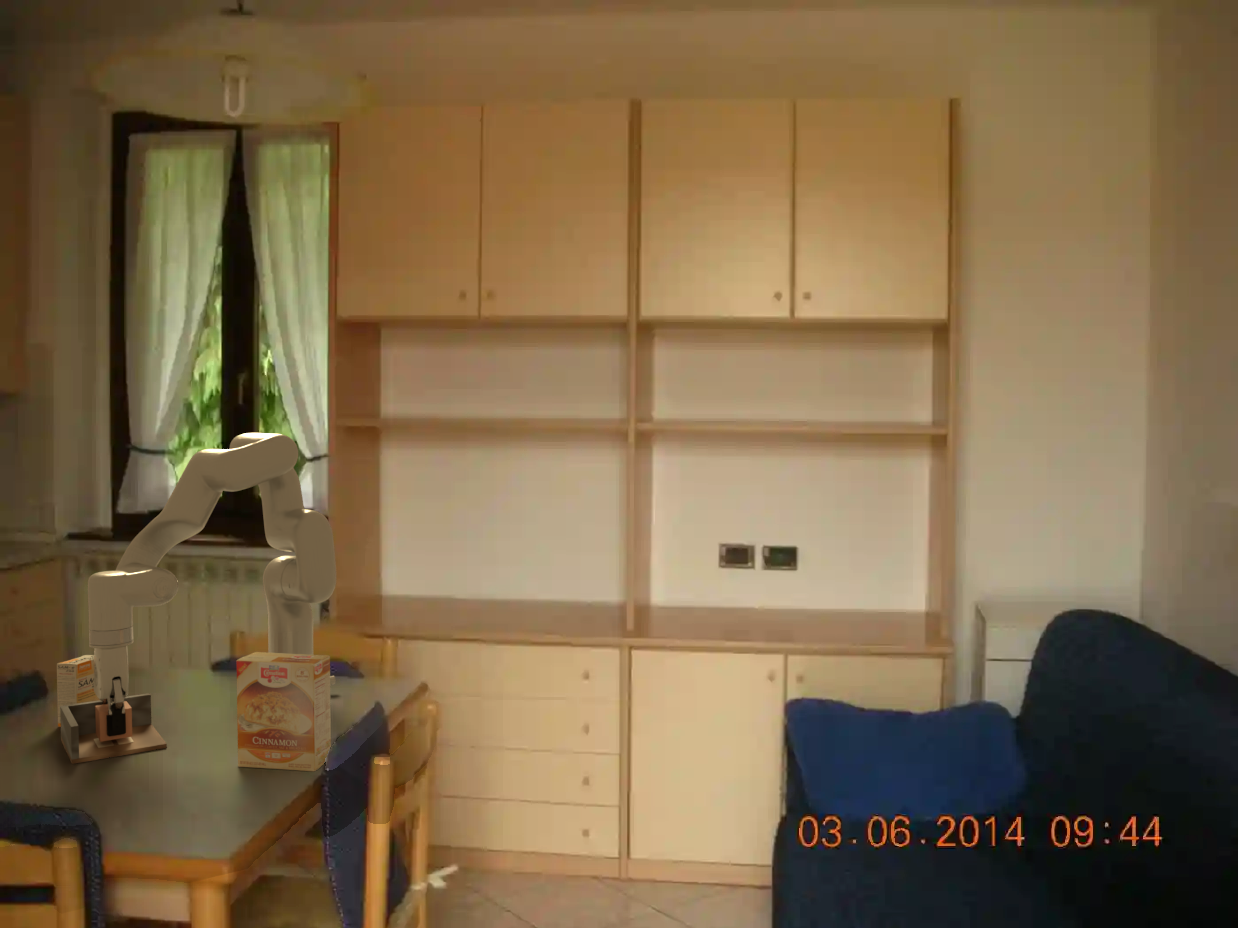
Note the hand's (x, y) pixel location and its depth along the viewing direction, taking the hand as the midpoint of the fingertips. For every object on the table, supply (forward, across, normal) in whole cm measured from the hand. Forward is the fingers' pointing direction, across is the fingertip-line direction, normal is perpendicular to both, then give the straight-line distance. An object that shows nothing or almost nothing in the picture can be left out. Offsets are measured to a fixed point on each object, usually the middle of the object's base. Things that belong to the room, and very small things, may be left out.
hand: (113, 729), depth 198 cm
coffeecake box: (+3, +28, +24) cm, 37 cm away
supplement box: (+3, -20, -3) cm, 20 cm away
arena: (+3, 0, 0) cm, 3 cm away
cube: (+1, 0, 0) cm, 1 cm away
